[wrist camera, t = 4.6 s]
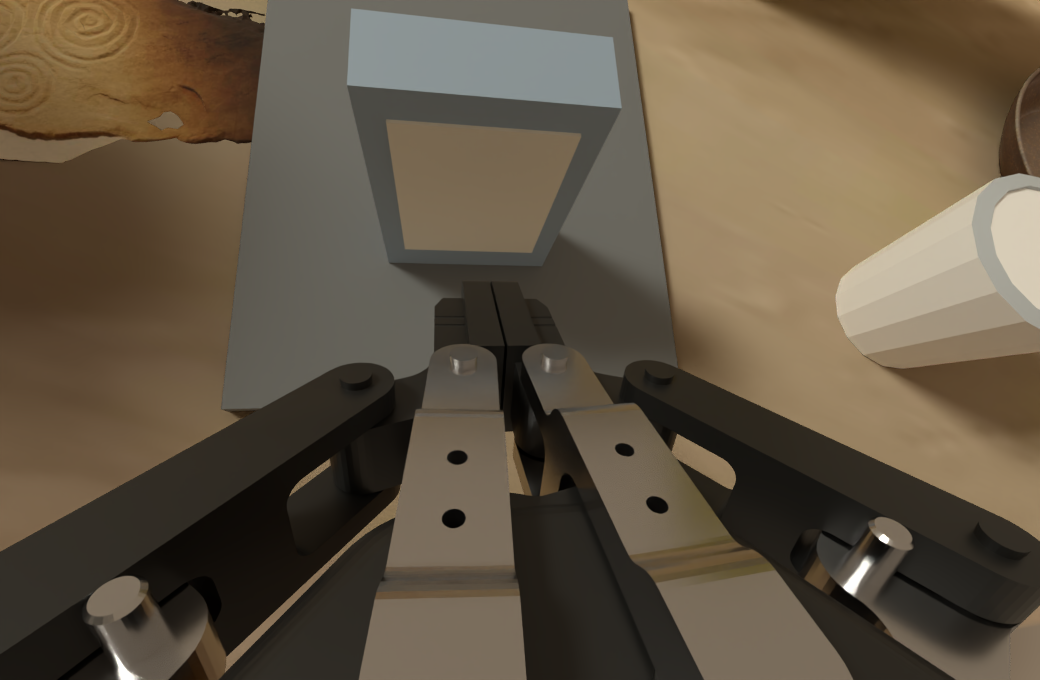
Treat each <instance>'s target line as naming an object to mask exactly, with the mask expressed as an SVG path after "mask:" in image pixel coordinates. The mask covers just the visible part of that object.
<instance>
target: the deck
mask: <svg viewBox="0 0 1040 680" xmlns="http://www.w3.org/2000/svg"><path fill="white" fill-rule="evenodd" d="M347 88H348V92H349V96H350V100H351V105H352V109H353V113H354V117H355V122H356V126H357V130H358V134H359V139H360V143H361V147H362V151H363V155H364V160H365V164H366V168H367V172H368V177H369V181H370V185H371V189H372V193H373V198H374V202H375V206H376V210H377V215H378V219H379V223H380V227H381V232H382V236H383V240H384V244H385V248H386V253H387V257H388V261H389V263H423V264H466V265H509V266H542V265H543V263H544V261H545V259H546V257H547V255H548V253H549V251H550V249H551V247H552V245H553V243H554V241H555V240H556V238H557V236H558V234H559V232H560V230H561V228H562V226H563V224H564V222H565V220H566V218H567V216H568V214H569V212H570V210H571V208H572V206H573V204H574V202H575V200H576V198H577V196H578V194H579V192H580V190H581V188H582V186H583V184H584V182H585V180H586V178H587V176H588V174H589V172H590V170H591V168H592V166H593V164H594V162H595V160H596V158H597V156H598V154H599V152H600V150H601V148H602V146H603V144H604V142H605V140H606V138H607V137H608V135H609V133H610V131H611V129H612V127H613V125H614V123H615V121H616V119H617V117H618V115H619V113H620V111H621V109H622V106H621V98H620V90H619V82H618V74H617V66H616V58H615V50H614V42H613V37H605V36H596V35H587V34H578V33H569V32H560V31H551V30H542V29H533V28H523V27H514V26H505V25H496V24H487V23H478V22H469V21H460V20H451V19H442V18H433V17H424V16H415V15H406V14H397V13H388V12H379V11H370V10H361V9H352V8H351V21H350V39H349V56H348V74H347Z"/></svg>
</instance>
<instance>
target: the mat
mask: <svg viewBox="0 0 1040 680" xmlns="http://www.w3.org/2000/svg"><path fill="white" fill-rule="evenodd" d="M351 8H352V9H361V10H370V11H379V12H388V13H397V14H406V15H415V16H424V17H433V18H442V19H451V20H460V21H469V22H478V23H487V24H496V25H505V26H514V27H523V28H533V29H542V30H551V31H560V32H569V33H578V34H587V35H596V36H605V37H613V42H614V50H615V58H616V66H617V74H618V82H619V90H620V98H621V106H622V109H621V111H620V113H619V115H618V117H617V119H616V121H615V123H614V125H613V127H612V129H611V131H610V133H609V135H608V137H607V138H606V140H605V142H604V144H603V146H602V148H601V150H600V152H599V154H598V156H597V158H596V160H595V162H594V164H593V166H592V168H591V170H590V172H589V174H588V176H587V178H586V180H585V182H584V184H583V186H582V188H581V190H580V192H579V194H578V196H577V198H576V200H575V202H574V204H573V206H572V208H571V210H570V212H569V214H568V216H567V218H566V220H565V222H564V224H563V226H562V228H561V230H560V232H559V234H558V236H557V238H556V240H555V241H554V243H553V245H552V247H551V249H550V251H549V253H548V255H547V257H546V259H545V261H544V263H543V265H542V266H509V265H466V264H423V263H389V261H388V257H387V253H386V248H385V244H384V240H383V236H382V232H381V227H380V223H379V219H378V215H377V210H376V206H375V202H374V198H373V193H372V189H371V185H370V181H369V177H368V172H367V168H366V164H365V160H364V155H363V151H362V147H361V143H360V139H359V134H358V130H357V126H356V122H355V117H354V113H353V109H352V105H351V100H350V96H349V92H348V88H347V74H348V56H349V39H350V21H351ZM462 280H464V281H489V282H491V281H517V282H518V284H519V286H520V289H521V292H522V294H523V297H524V299H537V300H539V301H540V302H541V303H543V304H544V305H545V306H547V307H548V309H549V311H550V314H551V316H552V319H553V320H554V322H555V326H556V327H557V329H558V331H559V333H560V335H561V338H562V340H563V342H564V344H565V346H567V347H570V348H572V349H574V350H576V351H577V352H579V353H580V354H581V355H582V356H583V357H584V358H585V360H586V361H587V363H588V364H589V366H590V368H591V369H592V371H593V372H597V373H601V374H606V375H612V376H617V377H623V376H624V371H625V368H626V366H627V365H629V364H630V363H632V362H635V361H639V360H653V361H659V362H663V363H666V364H669V365H672V366H674V367H676V368H678V364H677V357H676V349H675V342H674V335H673V328H672V320H671V313H670V306H669V299H668V292H667V284H666V277H665V270H664V263H663V255H662V248H661V241H660V234H659V226H658V219H657V212H656V205H655V197H654V190H653V183H652V176H651V168H650V161H649V154H648V147H647V139H646V132H645V125H644V118H643V110H642V103H641V96H640V89H639V82H638V74H637V67H636V60H635V53H634V45H633V38H632V31H631V24H630V16H629V9H628V2H627V0H268V4H267V13H266V22H265V30H264V39H263V48H262V56H261V65H260V74H259V83H258V91H257V100H256V109H255V117H254V126H253V135H252V144H251V152H250V161H249V170H248V178H247V187H246V196H245V204H244V213H243V222H242V231H241V239H240V248H239V257H238V265H237V274H236V283H235V292H234V300H233V309H232V318H231V326H230V335H229V344H228V352H227V361H226V370H225V379H224V387H223V396H222V405H221V409H222V410H225V411H256V410H259V409H261V408H263V407H264V406H266V405H268V404H270V403H272V402H273V401H275V400H277V399H279V398H281V397H283V396H284V395H286V394H288V393H290V392H292V391H293V390H295V389H297V388H299V387H301V386H303V385H304V384H306V383H308V382H310V381H312V380H313V379H315V378H317V377H319V376H321V375H323V374H324V373H326V372H328V371H330V370H332V369H334V368H336V367H339V366H342V365H346V364H351V363H373V364H378V365H381V366H383V367H385V368H387V369H388V370H390V371H391V373H392V374H393V376H394V380H396V379H401V378H405V377H409V376H413V375H415V374H418V373H420V372H422V371H423V370H425V369H426V368H427V367H429V363H430V358H431V356H432V354H433V353H434V312H435V305H436V304H437V303H438V302H439V301H440V300H441V299H442V298H461V291H462Z"/></svg>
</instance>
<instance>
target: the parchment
mask: <svg viewBox="0 0 1040 680" xmlns="http://www.w3.org/2000/svg"><path fill="white" fill-rule="evenodd" d="M211 11H213V12H211ZM229 12H233V13H235V14H236V15H237V13H240V12H242V14H243V15H242V16H240V17H231V16H228V13H229ZM222 13H225V15H226V16H220V15H222ZM249 13H254V14H259V15H264V14H260V13H256V12H252V11H246V10H242V9H229V11H222V10H220V9H217V8H213V7H211V6H208V5H205V4H203V3H200V2H194V1H191V2H188V3H187V4H186V3H184V2H182V1H178V0H0V159H7V160H20V161H34V162H45V161H46V162H51V163H63V162H65V161H66V160H69V161H70V160H71V159H73V158H75V157H77V156H80V155H82V154H84V153H86V152H88V151H90V150H93V149H96V148H99V147H102V146H105V145H108V144H110V143H113V142H115V141H118V140H120V139H126V140H130V141H132V142H150V141H159V140H166V139H172V138H177V139H178V140H180V141H183V142H186V143H192V144H199V143H206V142H219V141H221V140H224V139H226V140H230V141H233V142H236V143H238V144H239V143H250V142H252V135H253V126H254V117H255V109H256V100H257V91H258V83H259V74H260V65H261V56H262V48H263V39H264V30H265V24H264V23H260V24H259V23H257V22H254V21H252V20H251V19H250V17H252V16H251V14H250V15H249ZM169 111H172V112H173V113H175V114H176V115H178V116H179V118H180V119H181V120H182V122H183V124H184V125H183V126H181V127H180V128H178V129H173V128H166V129H164V130H162V131H161V130H160V129H159V128H157V127H155V126H154V125H152V124H150V123H148V122H147V121H149V120H152V119H155V118H157V117H160V116H161V115H162V113H163V112H169Z"/></svg>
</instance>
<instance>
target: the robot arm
mask: <svg viewBox="0 0 1040 680" xmlns="http://www.w3.org/2000/svg"><path fill="white" fill-rule="evenodd" d="M507 431H513V432H514V448H513V459H514V462H515V465H516V469H517V472H518V475H519V479H520V482H521V486H522V489H523V492H524V495H522V494H515V493H509V482H508V468H507V453H506V439H505V432H507ZM677 434H679V435H681V436H683V437H684V438H686V439H688V440H690V441H692V442H694V443H695V444H697V445H699V446H701V447H703V448H705V449H706V450H708V451H710V452H712V453H714V454H716V455H717V456H719V457H721V458H723V459H724V460H726V461H727V462H728V463H729V464H730V465H731V466H732V468H733V470H734V471H735V474H736V482H735V485H734V488H733V490H731V489H728V488H726V487H724V486H722V485H720V484H719V483H717V482H715V481H713V480H712V479H710V478H708V477H706V476H705V475H703V474H701V473H700V472H698V471H696V470H694V469H693V468H691V467H689V466H688V465H686V464H684V463H682V462H681V461H679V460H677V459H676V458H675V456H674V455H673V454H672V452H671V451H672V448H673V445H674V442H675V439H676V435H677ZM329 458H330V463H331V466H329V467H328V468H327V469H325V470H324V471H323V472H321V473H320V474H319V475H317V476H316V477H315V478H313V479H312V480H311V481H309V482H308V483H307V484H305V485H304V486H303V487H301V488H300V489H299V490H297V491H296V492H295V493H293V494H292V495H291V496H289V495H290V493H291V491H292V489H293V488H294V486H295V485H296V484H297V483H298V482H299V481H300V480H301V479H302V478H303V477H305V476H306V475H308V474H309V473H310V472H312V471H313V470H314V469H316V468H317V467H319V466H320V465H321V464H323V463H324V462H325V461H327V460H328V459H329ZM401 484H402V485H401ZM400 485H401V490H400ZM399 490H400V496H399V501H398V506H397V512H396V517H395V518H393V519H391V520H389V521H387V522H385V523H383V524H381V525H379V526H378V527H376V528H375V529H373V530H372V531H370V532H368V533H367V534H365V535H364V536H363V537H362V538H360V539H359V540H358V541H357V542H355V543H354V544H353V545H352V546H351V547H350V548H349V549H348V550H347V551H345V552H344V553H343V554H342V555H341V556H340V557H339V559H338V560H337V561H336V562H335V563H334V564H333V565H332V566H331V567H330V568H329V569H328V570H327V571H326V572H325V573H324V574H323V575H322V576H321V577H320V578H319V579H318V580H317V581H316V582H315V583H314V584H313V585H312V586H311V587H310V588H309V589H308V590H307V591H306V592H305V593H304V594H303V595H302V596H301V597H300V598H299V599H298V600H297V601H296V602H295V603H294V604H293V605H292V606H291V607H290V608H289V609H288V610H287V611H286V612H285V613H284V614H283V615H282V616H281V617H280V618H279V619H278V620H277V621H276V622H275V623H274V624H273V625H272V626H271V627H270V628H269V629H268V630H267V631H266V632H265V633H264V634H263V635H262V636H261V637H260V638H259V639H258V640H257V641H256V642H255V643H254V644H253V645H252V646H251V647H250V648H249V649H248V650H247V651H246V652H245V653H244V654H243V655H242V656H241V657H240V658H239V659H238V660H237V661H236V662H235V663H234V664H233V665H232V666H231V667H230V668H229V669H228V670H227V671H226V672H225V668H226V657H227V656H228V655H229V654H230V653H231V652H232V651H233V650H234V649H235V648H236V647H237V646H238V645H239V644H241V643H242V642H243V641H244V640H245V639H246V638H247V637H248V636H249V635H250V634H251V633H252V632H253V631H254V630H255V629H257V628H258V627H259V626H260V625H261V624H262V623H263V622H264V621H265V620H266V619H267V618H268V617H269V616H270V615H271V614H273V613H274V612H275V611H276V610H277V609H278V608H279V607H280V606H281V605H282V604H283V603H284V602H285V601H286V600H287V599H289V598H290V597H291V596H292V595H293V594H294V593H295V592H296V591H297V590H298V589H299V588H300V587H301V586H302V585H303V584H305V583H306V582H307V581H308V580H309V579H310V578H311V577H312V576H313V575H314V574H315V573H316V572H317V571H318V570H319V569H321V568H322V567H323V566H324V565H325V564H326V563H327V562H328V561H329V560H330V559H331V558H332V557H333V556H334V555H335V554H337V553H338V552H339V551H340V550H341V549H342V548H343V547H344V546H345V545H346V544H347V543H348V542H349V541H350V540H351V539H353V538H354V537H355V536H356V535H357V534H358V533H359V532H360V531H361V530H362V529H363V528H364V527H365V526H366V525H367V524H369V523H370V522H371V521H372V520H373V519H374V518H375V517H376V516H377V515H378V514H379V513H380V512H381V511H382V510H383V509H385V508H386V507H387V506H388V505H389V504H390V503H391V502H392V501H393V500H394V499H395V498H396V496H397V495H398V493H399ZM1039 606H1040V541H1038V540H1037V539H1036V538H1035V537H1033V536H1032V535H1030V534H1029V533H1028V532H1026V531H1025V530H1023V529H1022V528H1020V527H1018V526H1017V525H1015V524H1013V523H1011V522H1010V521H1008V520H1006V519H1004V518H1002V517H1000V516H998V515H995V514H993V513H991V512H989V511H987V510H985V509H982V508H980V507H978V506H976V505H974V504H972V503H969V502H967V501H965V500H963V499H961V498H959V497H956V496H954V495H952V494H950V493H948V492H946V491H943V490H941V489H939V488H937V487H935V486H933V485H930V484H928V483H926V482H924V481H922V480H919V479H917V478H915V477H913V476H911V475H909V474H906V473H904V472H902V471H900V470H898V469H896V468H893V467H891V466H889V465H887V464H885V463H883V462H880V461H878V460H876V459H874V458H872V457H870V456H867V455H865V454H863V453H861V452H859V451H856V450H854V449H852V448H850V447H848V446H846V445H843V444H841V443H839V442H837V441H835V440H833V439H830V438H828V437H826V436H824V435H822V434H820V433H817V432H815V431H813V430H811V429H809V428H807V427H804V426H802V425H800V424H798V423H796V422H794V421H791V420H789V419H787V418H785V417H783V416H780V415H778V414H776V413H774V412H772V411H770V410H767V409H765V408H763V407H761V406H759V405H757V404H754V403H752V402H750V401H748V400H746V399H744V398H741V397H739V396H737V395H735V394H733V393H731V392H728V391H726V390H724V389H722V388H720V387H718V386H715V385H713V384H711V383H709V382H707V381H704V380H702V379H700V378H698V377H696V376H694V375H691V374H689V373H687V372H685V371H683V370H681V369H678V368H676V367H674V366H672V365H669V364H666V363H663V362H659V361H653V360H639V361H635V362H632V363H630V364H629V365H627V366H626V368H625V371H624V376H623V377H617V376H612V375H606V374H601V373H597V372H593V371H592V369H591V368H590V366H589V364H588V363H587V361H586V360H585V358H584V357H583V356H582V355H581V354H580V353H579V352H577V351H576V350H574V349H572V348H570V347H567V346H565V344H564V342H563V340H562V338H561V335H560V333H559V331H558V329H557V327H556V326H555V322H554V320H553V319H552V316H551V314H550V311H549V309H548V307H547V306H545V305H544V304H543V303H541V302H540V301H539V300H537V299H524V297H523V294H522V292H521V289H520V286H519V284H518V282H517V281H491V282H489V281H464V280H462V291H461V298H442V299H441V300H440V301H439V302H438V303H437V304H436V305H435V312H434V353H433V354H432V356H431V358H430V363H429V367H427V368H426V369H425V370H423V371H422V372H420V373H418V374H415V375H413V376H409V377H405V378H401V379H396V380H394V376H393V374H392V373H391V371H390V370H388V369H387V368H385V367H383V366H381V365H378V364H373V363H351V364H346V365H342V366H339V367H336V368H334V369H332V370H330V371H328V372H326V373H324V374H323V375H321V376H319V377H317V378H315V379H313V380H312V381H310V382H308V383H306V384H304V385H303V386H301V387H299V388H297V389H295V390H293V391H292V392H290V393H288V394H286V395H284V396H283V397H281V398H279V399H277V400H275V401H273V402H272V403H270V404H268V405H266V406H264V407H263V408H261V409H259V410H257V411H255V412H253V413H252V414H250V415H248V416H246V417H244V418H243V419H241V420H239V421H237V422H235V423H233V424H232V425H230V426H228V427H226V428H224V429H223V430H221V431H219V432H217V433H215V434H213V435H212V436H210V437H208V438H206V439H204V440H203V441H201V442H199V443H197V444H195V445H194V446H192V447H190V448H188V449H186V450H184V451H183V452H181V453H179V454H177V455H175V456H174V457H172V458H170V459H168V460H166V461H164V462H163V463H161V464H159V465H157V466H155V467H154V468H152V469H150V470H148V471H146V472H144V473H143V474H141V475H139V476H137V477H135V478H134V479H132V480H130V481H128V482H126V483H124V484H123V485H121V486H119V487H117V488H115V489H114V490H112V491H110V492H108V493H106V494H104V495H103V496H101V497H99V498H97V499H95V500H94V501H92V502H90V503H88V504H86V505H84V506H83V507H81V508H79V509H77V510H75V511H74V512H72V513H70V514H68V515H66V516H64V517H63V518H61V519H59V520H57V521H55V522H54V523H52V524H50V525H48V526H46V527H45V528H43V529H41V530H39V531H37V532H35V533H34V534H32V535H30V536H28V537H26V538H25V539H23V540H21V541H19V542H17V543H15V544H14V545H12V546H10V547H8V548H6V549H5V550H3V551H1V552H0V680H1010V634H1011V633H1012V632H1013V631H1014V630H1015V629H1016V628H1017V627H1018V626H1019V625H1020V624H1021V623H1022V622H1023V621H1024V620H1025V619H1026V618H1027V617H1028V616H1029V615H1030V614H1031V613H1032V612H1033V611H1034V610H1035V609H1037V608H1038V607H1039Z"/></svg>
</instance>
